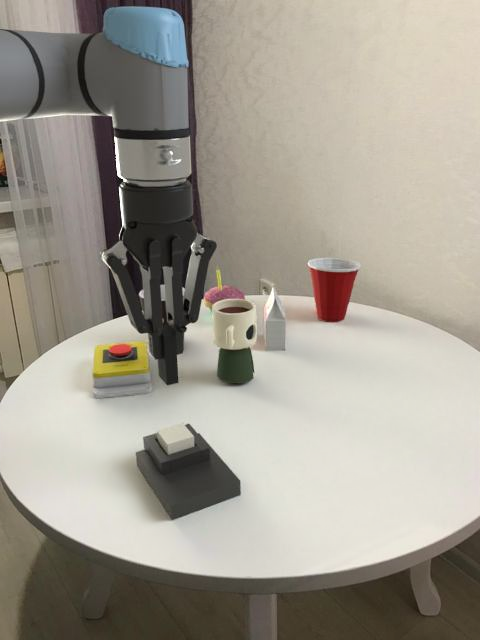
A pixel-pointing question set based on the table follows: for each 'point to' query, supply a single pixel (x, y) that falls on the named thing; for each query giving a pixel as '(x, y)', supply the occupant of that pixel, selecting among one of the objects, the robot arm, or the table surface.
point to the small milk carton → (274, 323)
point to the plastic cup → (332, 286)
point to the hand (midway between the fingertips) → (168, 379)
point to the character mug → (234, 338)
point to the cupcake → (221, 293)
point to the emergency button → (121, 369)
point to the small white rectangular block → (175, 438)
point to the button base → (186, 476)
